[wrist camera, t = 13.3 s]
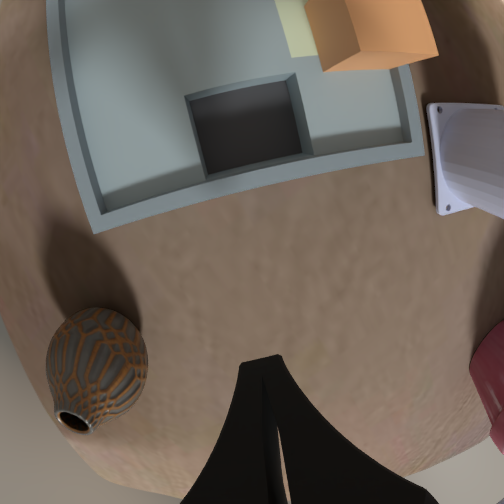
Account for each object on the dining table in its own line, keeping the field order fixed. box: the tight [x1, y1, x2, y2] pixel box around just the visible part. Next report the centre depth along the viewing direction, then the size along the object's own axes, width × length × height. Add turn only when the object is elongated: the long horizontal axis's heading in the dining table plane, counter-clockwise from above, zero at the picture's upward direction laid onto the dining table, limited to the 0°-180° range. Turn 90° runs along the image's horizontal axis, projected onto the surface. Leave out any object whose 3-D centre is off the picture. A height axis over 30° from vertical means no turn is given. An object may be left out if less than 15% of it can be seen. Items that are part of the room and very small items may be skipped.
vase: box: [46, 308, 148, 435], centre depth 16 cm, size 7×7×9 cm
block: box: [304, 0, 439, 72], centre depth 10 cm, size 4×4×4 cm
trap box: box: [46, 0, 425, 234], centre depth 11 cm, size 18×20×3 cm
